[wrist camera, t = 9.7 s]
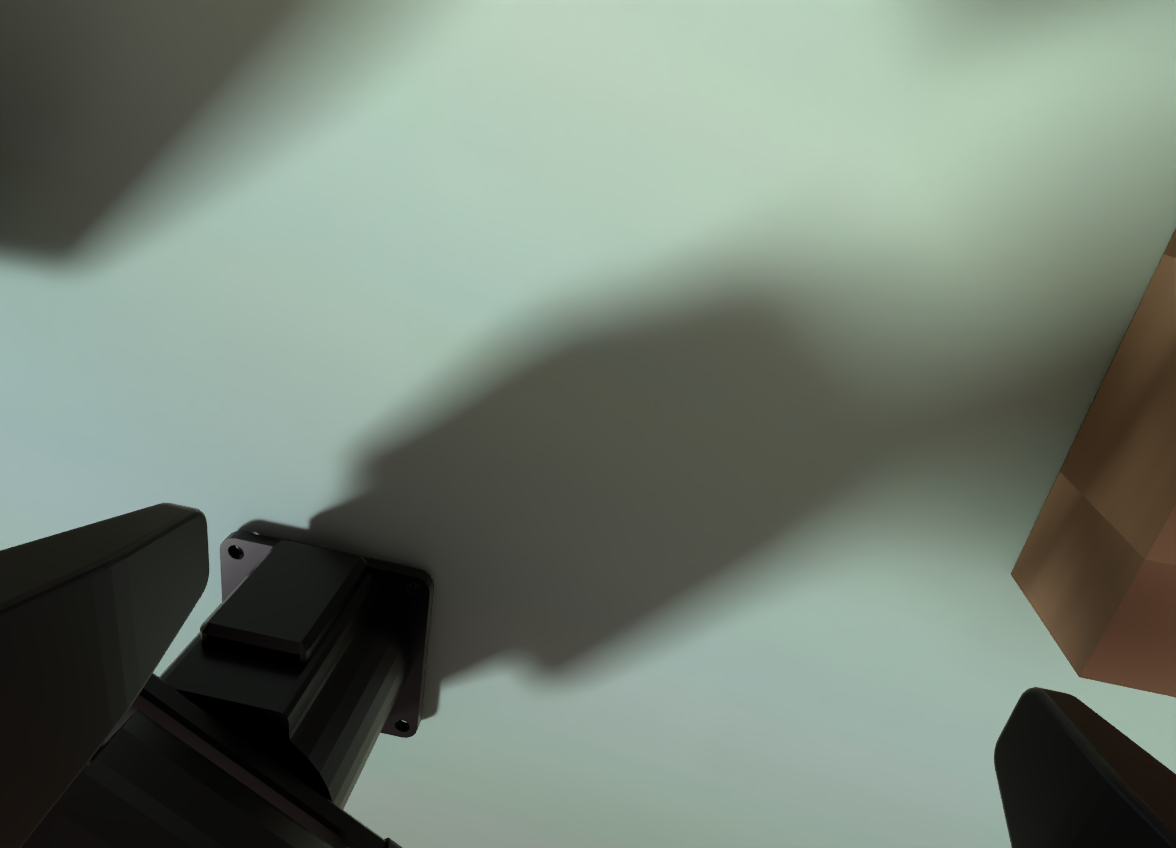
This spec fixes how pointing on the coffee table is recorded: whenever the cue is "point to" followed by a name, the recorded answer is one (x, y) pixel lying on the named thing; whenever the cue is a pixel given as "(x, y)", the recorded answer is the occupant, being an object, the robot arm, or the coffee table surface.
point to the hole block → (1117, 514)
